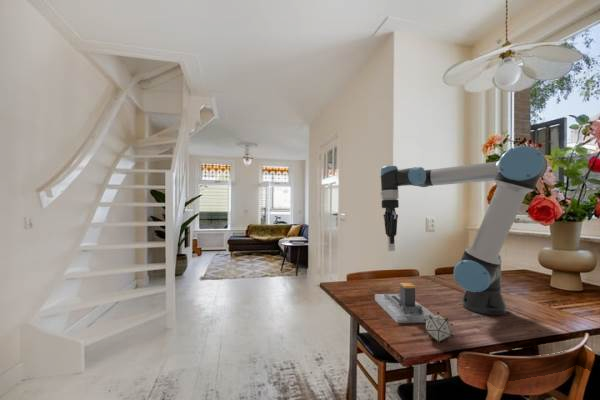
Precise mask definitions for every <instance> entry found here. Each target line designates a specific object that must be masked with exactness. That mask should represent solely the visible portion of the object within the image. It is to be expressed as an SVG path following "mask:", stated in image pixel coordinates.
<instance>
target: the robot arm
mask: <svg viewBox="0 0 600 400" xmlns="http://www.w3.org/2000/svg"><path fill="white" fill-rule="evenodd" d="M547 170H548V161H547V158H546V157H545V155H544V154H543V152H542V151H541V150H539V148H536V147H532V146H530V145H517V146H514V147H511V148H508V149H507V150H506V151H505V152H504V153H502V154H501V156H500V158H499V160H498V161H490V162H482V163H475V164H467V165H458V166H457V165H456V166H449V167H442V168H434V169H425V168H424V167H422V166H420V167H419V166H417V167H415V166H413V167H411V168H410V167H408V168H402V169H401V168H400V169H398V166H397V165H385V166H383V167H381V169H380V186H381V188H380V191H381V192H380V195H381V208H382V209H385V211H384V214H383V215H382V216H383V220H384V221H383V222H384V229H385V230H384V231H385V235H386V236H387V251H389V252H395V251H396V247H395V246H396V245H395V244H396V243H395V241H396V240H395V239H396V238H395V237H396V236H397V233H398V232H397V229H398V218H399V215H398V214H397V212H396V209H397V208H399V200H398V199H400V198H399V187H402V186H405V187H406V186H415V187H420V188H427V187H433V186H443V185H445V186H447V185H458V184H459V185H460V184H469V183H470V184H471V183H482V182H492V181H494V183H495V185H496V188H495V191H494V193H493V195H492V198H491V200H490V202H489V204H488V207H487V209H486V211H485V214H484V216H483V219H482V221H481V224H480V226H479V228H478V231H477V233H476V236H475V238H474V240H473V242H472V245H471V246H470V247H467V248H465V249H464V252H463V254H462V256H461V259H460V261H458V262H457V264H456V265H455V266H454V268H453V277H454V279H455V281H456V283H457V285H459V286H460V287H461V288H462V289H463V290H465V292H464V294H463V296H462V302H461V303H462V304H461V306H462V307H463V308H464V309H466V310H469V311H472V312H474V313H477V314H483V315H489V316H503V315H506V314H507V305H506V302H505V300H504V297H503V295H502V258H501V255H500V252H501V251H502V248H503V246H504V244H505V242H506V239H507V237H508V235H509V233H510V231H511V228H512V226H513V224H514V222H515V220H516V217H517V214H518V213H519V210H520V209H521V206H522V204H523V202H524V199H525V197H526V195H527V194H529V193H532V192H534V191H535V189H536V187H537V184H538V182H539V180H540V179H541V178H542V177H543V176H544V175H545V174H546V172H547Z"/></svg>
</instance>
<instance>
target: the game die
mask: <svg viewBox="0 0 600 400" xmlns="http://www.w3.org/2000/svg"><path fill="white" fill-rule="evenodd" d="M429 317H430V318H429V319H427V320H426V319H424V321H426V322H425V329H423V332H427V334H428V338H429V337H432V338H433V339H434V340H435V341H437V345H440V342H442V341H443V340H445V341H448V340H449V339H448V338H450V337H452V338H455V335H454V334H452V326H453V325H454V324H453V323H450V322H449V318H448V317H446V318H445V317H444V316H442V315H441V314H440V312H439V311H437V314H434V316H432V317H431V315H429Z"/></svg>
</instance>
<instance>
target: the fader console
mask: <svg viewBox="0 0 600 400" xmlns="http://www.w3.org/2000/svg"><path fill="white" fill-rule="evenodd" d="M374 300H375V302H376V303H377V304H378V305H379V306H380V307H381V308H382V309H383V310H384V311H385V312H386V313H387V314H388V315H389V316H390V317H391V318H392V320H394V321H395V322H396V323H397V324H410V323H419V324H420V323H426V321H424V319H426V320H427V319H429V318H430V317H429V315H431V317H432V316H434V315H435V314H434V313H433V312H431V310H429V309H427V308H426V307H424V306H423V305H421V304H420V303H419V302H417V301H416V300H415V305H401V306H400V305H399V303H400V292H398V293H386V292H384V293H379V294H378V293H377V294H376V293H375V294H374Z"/></svg>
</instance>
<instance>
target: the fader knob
mask: <svg viewBox="0 0 600 400" xmlns="http://www.w3.org/2000/svg"><path fill="white" fill-rule="evenodd" d="M399 287H400V291H399V293H400V303H399V305H400V306H401V305H415V301H416V285H414V284H413V283H412V282H400V283H399Z"/></svg>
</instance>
